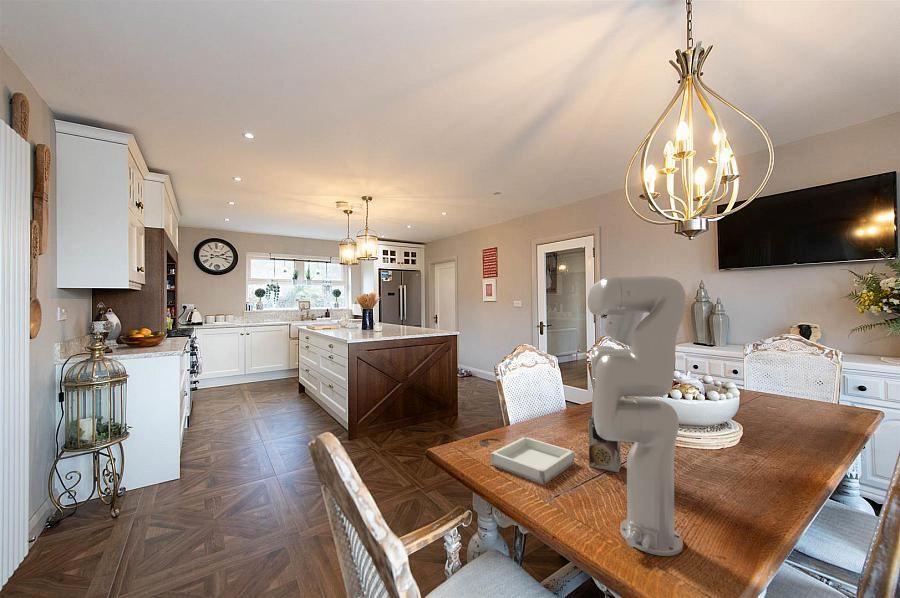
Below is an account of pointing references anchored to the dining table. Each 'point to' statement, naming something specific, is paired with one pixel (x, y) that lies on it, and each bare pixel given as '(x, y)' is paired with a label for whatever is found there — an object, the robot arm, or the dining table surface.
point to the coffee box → (603, 452)
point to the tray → (533, 459)
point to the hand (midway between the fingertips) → (604, 435)
